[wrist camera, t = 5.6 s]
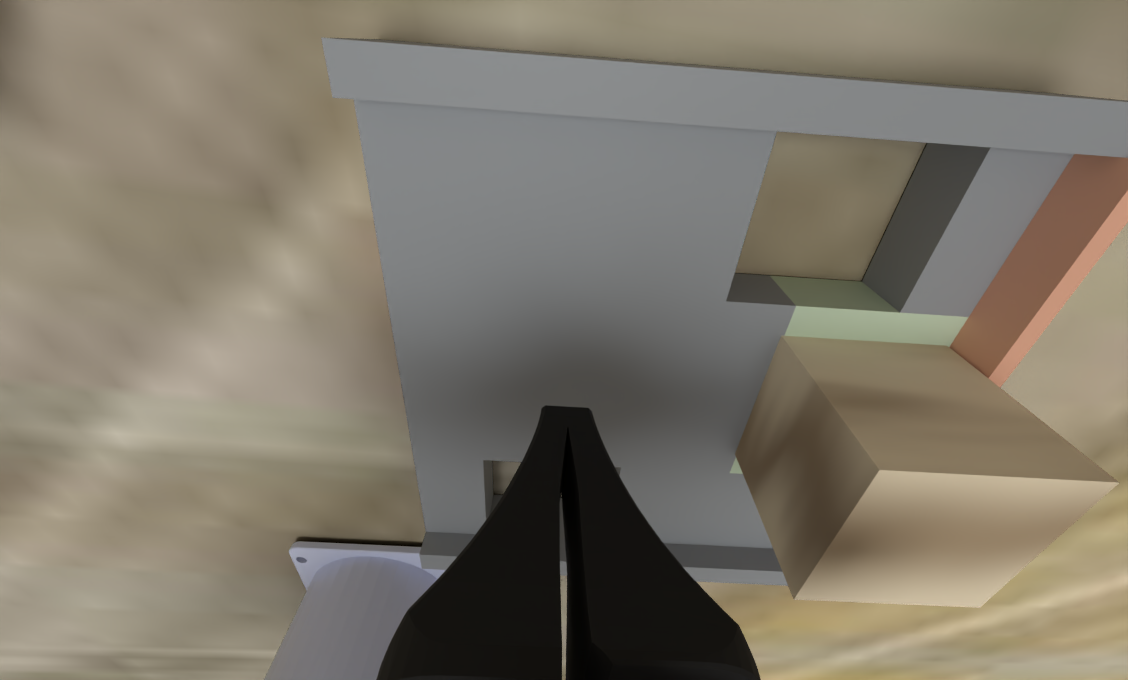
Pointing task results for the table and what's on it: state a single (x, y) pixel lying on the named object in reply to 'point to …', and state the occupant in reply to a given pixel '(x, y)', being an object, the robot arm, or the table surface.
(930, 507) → the block
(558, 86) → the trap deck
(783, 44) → the table surface
